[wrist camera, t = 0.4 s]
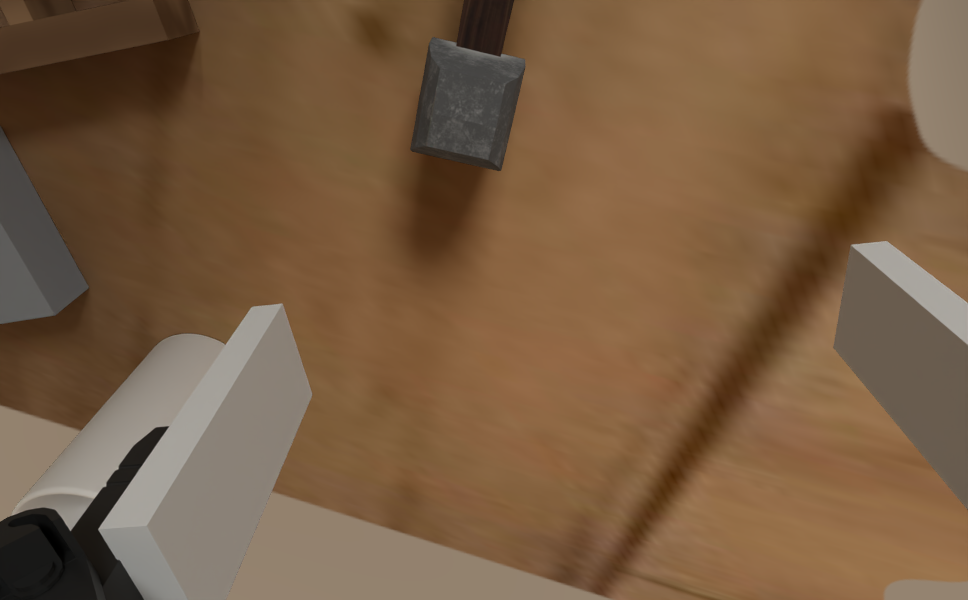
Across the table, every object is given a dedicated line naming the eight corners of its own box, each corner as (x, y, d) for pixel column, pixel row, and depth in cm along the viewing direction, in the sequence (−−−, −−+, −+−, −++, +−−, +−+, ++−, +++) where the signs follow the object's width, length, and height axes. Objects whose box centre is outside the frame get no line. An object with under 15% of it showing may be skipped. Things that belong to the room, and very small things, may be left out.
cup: (203, 316, 47) (76, 470, 33) (274, 392, 50) (186, 561, 36) (125, 361, 49) (-23, 523, 35) (198, 431, 53) (89, 605, 39)
